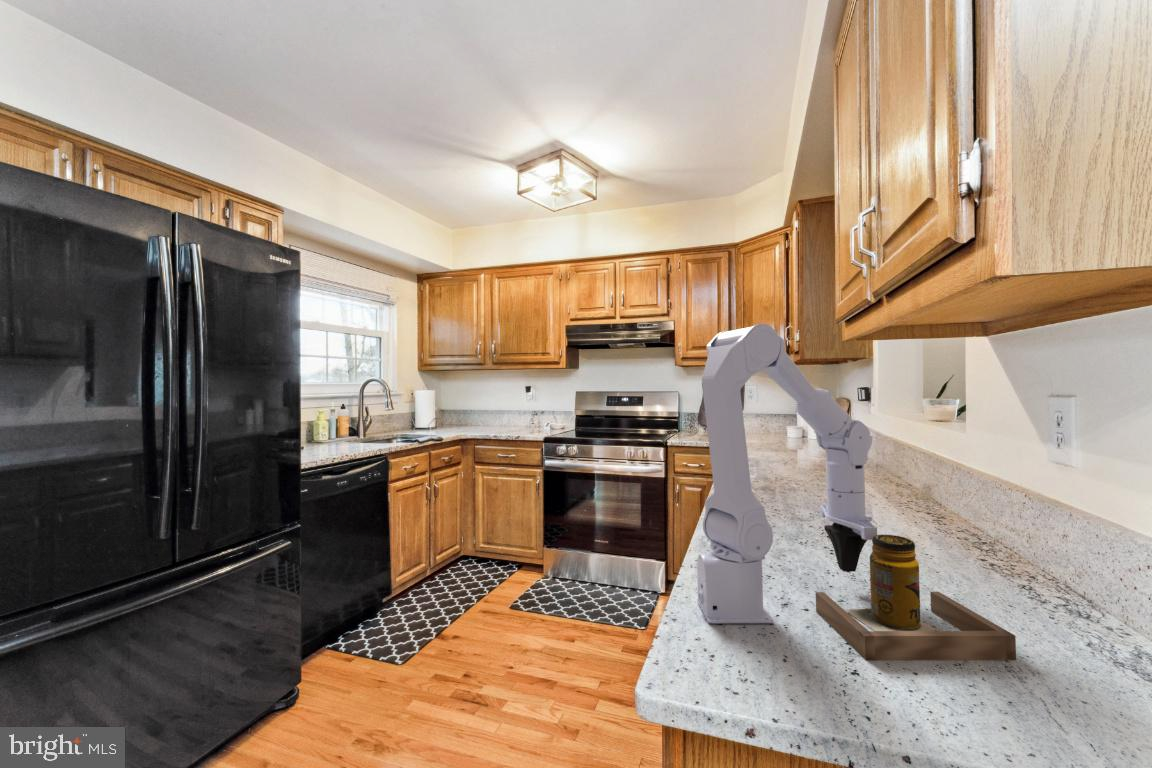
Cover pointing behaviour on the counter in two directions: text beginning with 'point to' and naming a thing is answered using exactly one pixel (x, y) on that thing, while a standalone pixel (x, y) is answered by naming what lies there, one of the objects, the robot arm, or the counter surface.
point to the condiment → (893, 587)
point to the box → (924, 635)
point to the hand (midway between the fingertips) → (847, 570)
